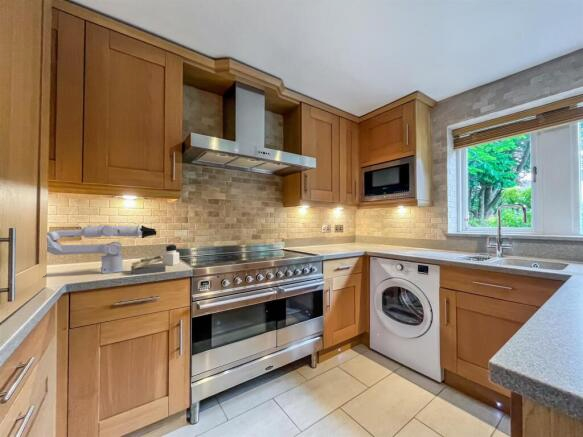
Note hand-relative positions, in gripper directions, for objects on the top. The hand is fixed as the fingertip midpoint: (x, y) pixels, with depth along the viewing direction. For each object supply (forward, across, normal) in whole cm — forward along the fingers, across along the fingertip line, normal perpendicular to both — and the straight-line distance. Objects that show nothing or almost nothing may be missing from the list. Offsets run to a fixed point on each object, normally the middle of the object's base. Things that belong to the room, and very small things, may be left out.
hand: (155, 232), depth 149 cm
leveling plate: (-4, -10, +16) cm, 19 cm away
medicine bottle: (+10, +5, +21) cm, 24 cm away
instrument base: (-3, -10, +20) cm, 23 cm away
